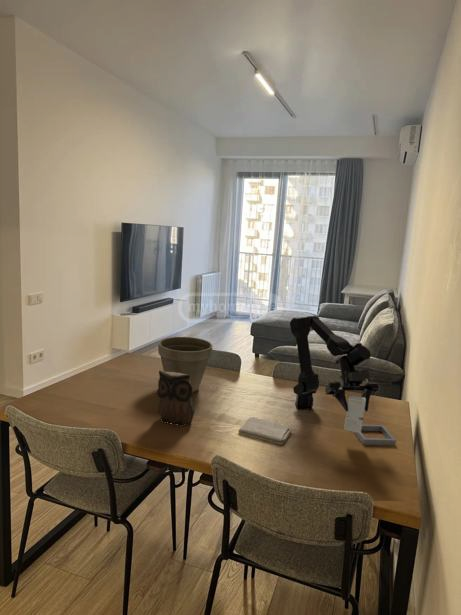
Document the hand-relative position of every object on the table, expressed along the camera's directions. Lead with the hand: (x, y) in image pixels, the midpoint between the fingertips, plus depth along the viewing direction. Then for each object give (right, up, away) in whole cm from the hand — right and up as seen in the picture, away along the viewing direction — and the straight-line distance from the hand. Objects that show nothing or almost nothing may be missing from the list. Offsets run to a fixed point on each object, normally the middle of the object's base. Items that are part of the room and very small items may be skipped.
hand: (357, 411), depth 150 cm
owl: (-65, -7, +16) cm, 68 cm away
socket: (+9, -12, +10) cm, 18 cm away
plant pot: (-67, -1, +48) cm, 82 cm away
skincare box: (-1, -7, +3) cm, 8 cm away
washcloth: (-32, -11, +9) cm, 35 cm away
